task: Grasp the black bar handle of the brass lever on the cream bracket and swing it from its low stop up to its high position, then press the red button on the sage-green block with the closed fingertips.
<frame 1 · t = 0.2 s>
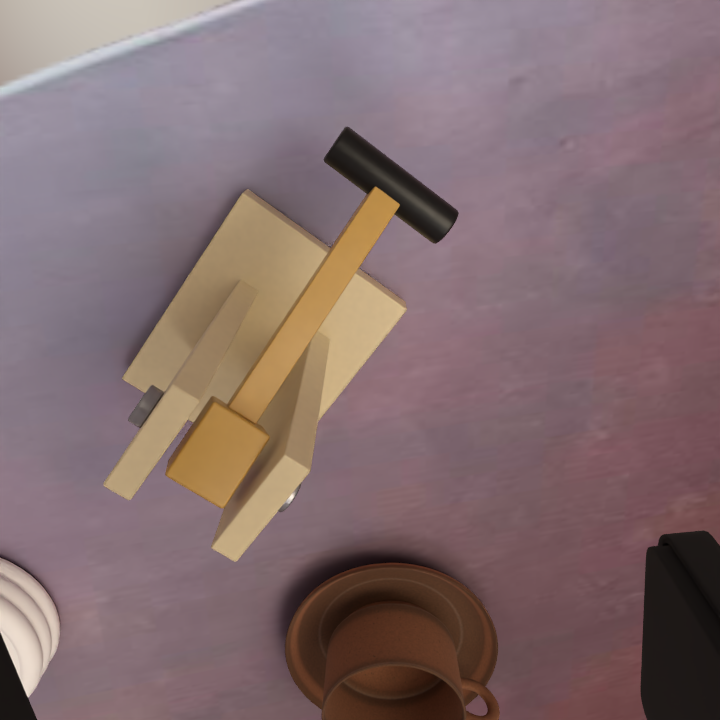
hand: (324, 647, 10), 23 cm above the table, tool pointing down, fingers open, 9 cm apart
bracket: (264, 336, 33), on the table
lever: (301, 322, 23), point 9 cm above the table, hinge at -25.0°
cup and saucer: (390, 625, 40), on the table
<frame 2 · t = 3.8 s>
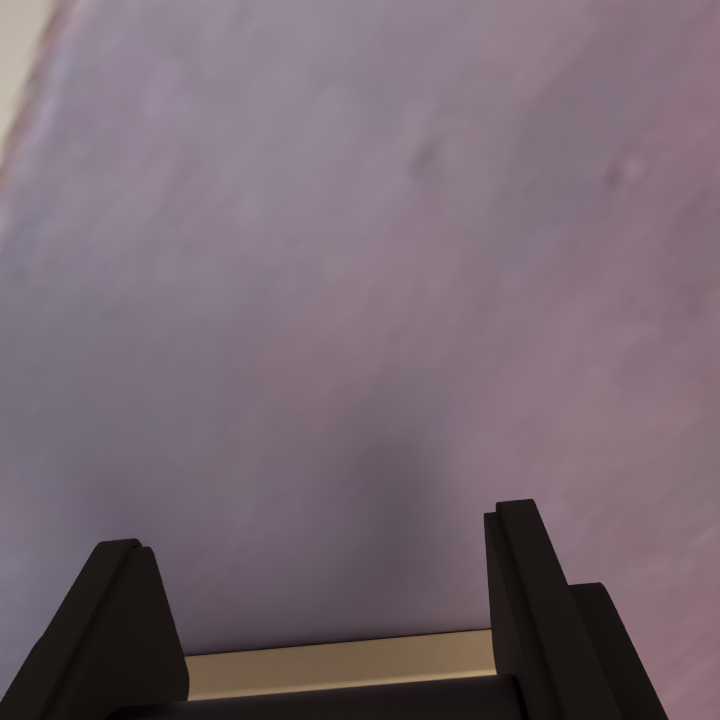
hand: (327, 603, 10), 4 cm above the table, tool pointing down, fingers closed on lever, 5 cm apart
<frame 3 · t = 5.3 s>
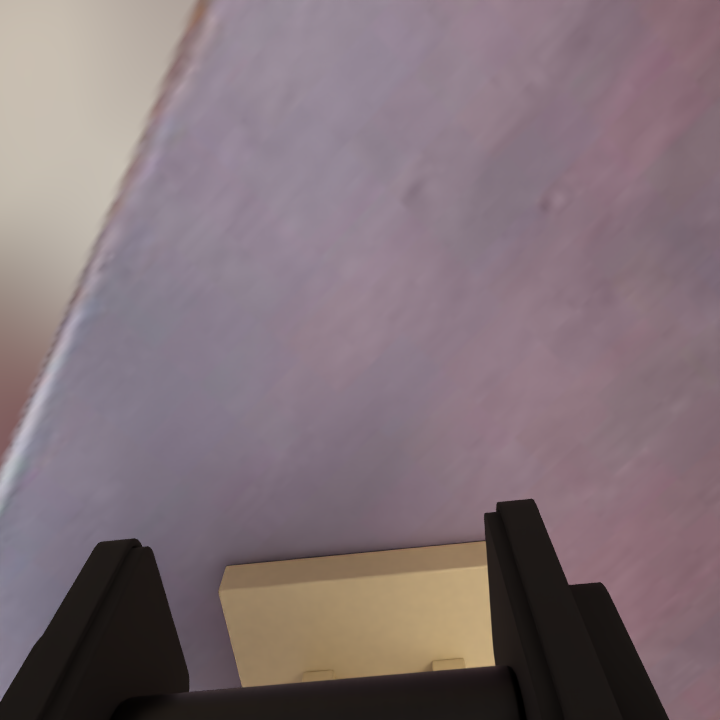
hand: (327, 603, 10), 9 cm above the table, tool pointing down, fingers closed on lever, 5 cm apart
bracket: (389, 686, 23), on the table
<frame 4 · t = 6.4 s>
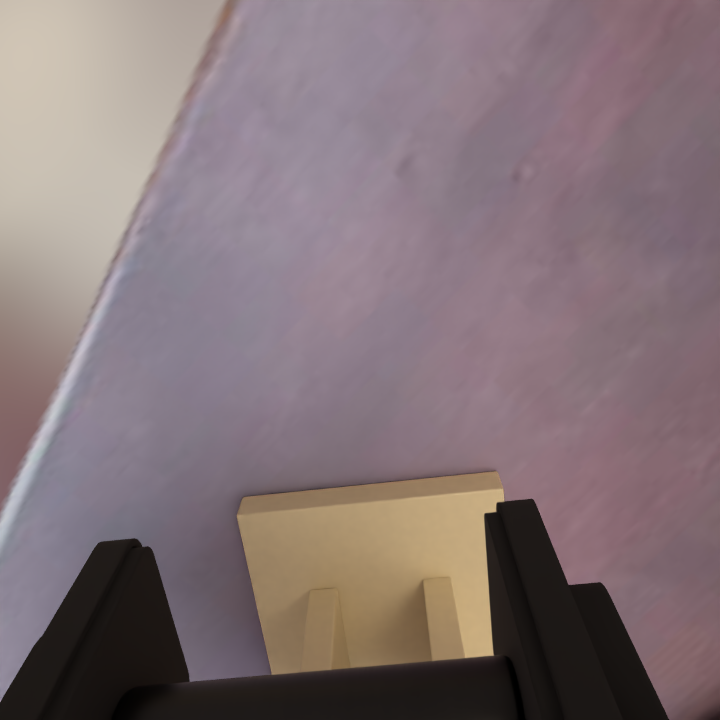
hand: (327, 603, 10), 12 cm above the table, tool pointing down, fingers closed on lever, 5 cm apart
bracket: (385, 608, 25), on the table
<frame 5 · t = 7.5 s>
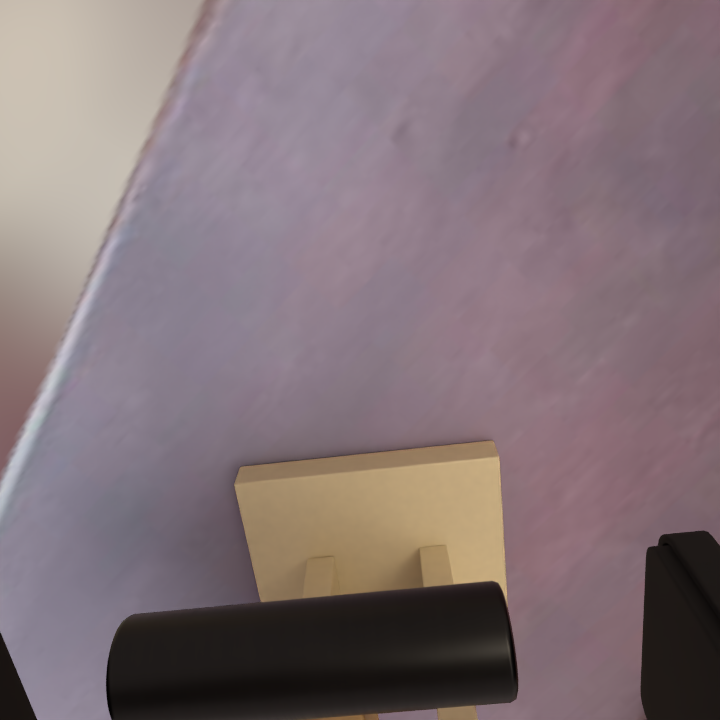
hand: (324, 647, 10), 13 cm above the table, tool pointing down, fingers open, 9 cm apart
bracket: (382, 577, 26), on the table
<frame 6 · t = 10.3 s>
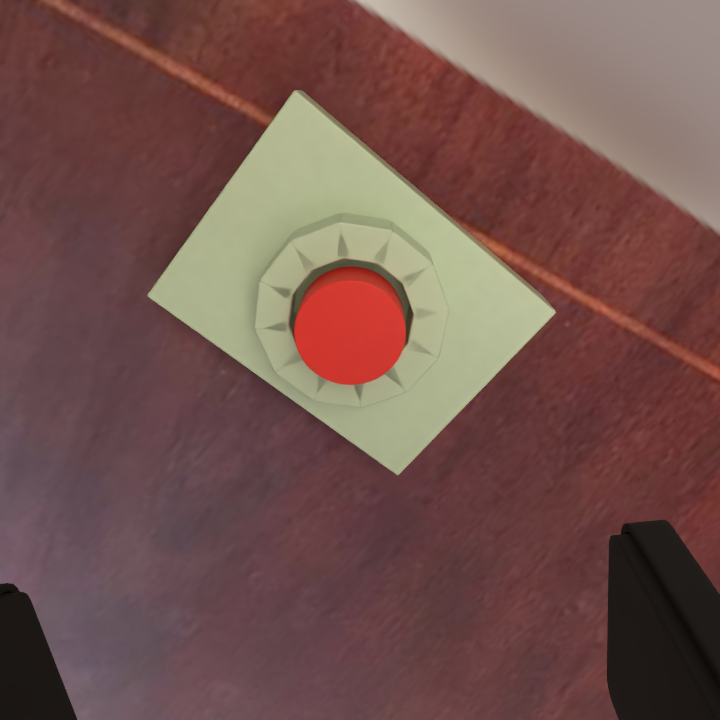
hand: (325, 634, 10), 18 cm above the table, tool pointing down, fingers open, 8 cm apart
button block: (353, 287, 27), on the table
button: (350, 325, 22), point 5 cm above the table, slide at 0.2 cm
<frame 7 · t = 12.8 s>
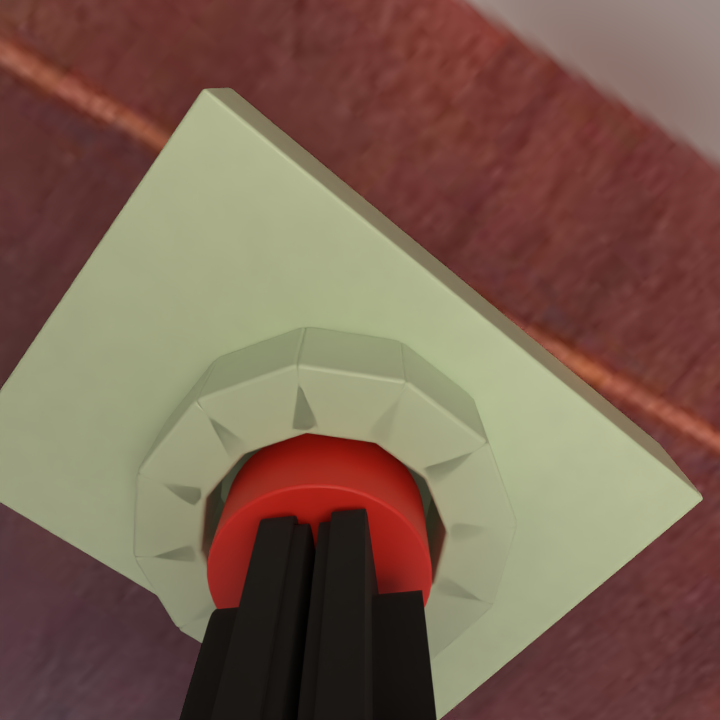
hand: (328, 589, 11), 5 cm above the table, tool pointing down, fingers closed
button block: (332, 431, 15), on the table
button: (322, 546, 11), point 4 cm above the table, slide at -0.3 cm, touching gripper
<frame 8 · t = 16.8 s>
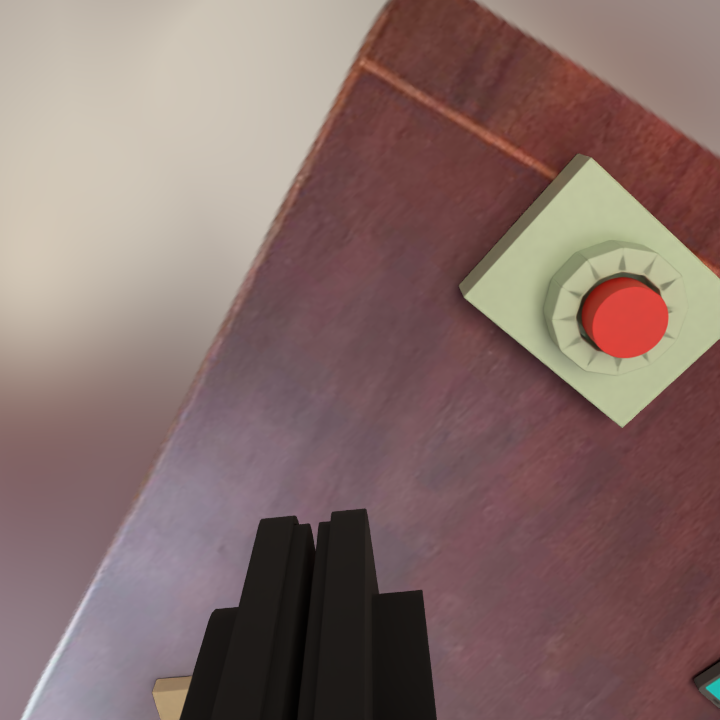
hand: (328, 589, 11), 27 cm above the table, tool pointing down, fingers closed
button block: (594, 291, 37), on the table
button: (623, 317, 33), point 5 cm above the table, slide at 0.1 cm
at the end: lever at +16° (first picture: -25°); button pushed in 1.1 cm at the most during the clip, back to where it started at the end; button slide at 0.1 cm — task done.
